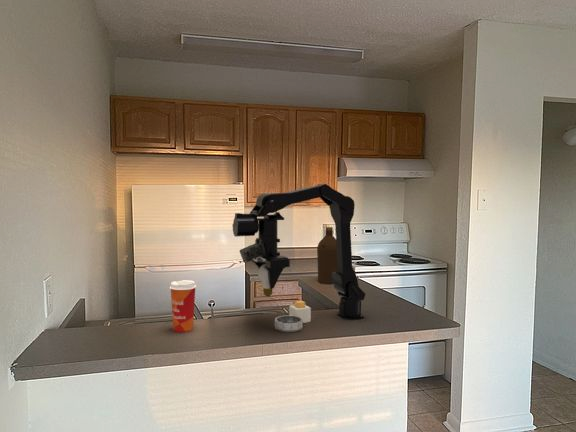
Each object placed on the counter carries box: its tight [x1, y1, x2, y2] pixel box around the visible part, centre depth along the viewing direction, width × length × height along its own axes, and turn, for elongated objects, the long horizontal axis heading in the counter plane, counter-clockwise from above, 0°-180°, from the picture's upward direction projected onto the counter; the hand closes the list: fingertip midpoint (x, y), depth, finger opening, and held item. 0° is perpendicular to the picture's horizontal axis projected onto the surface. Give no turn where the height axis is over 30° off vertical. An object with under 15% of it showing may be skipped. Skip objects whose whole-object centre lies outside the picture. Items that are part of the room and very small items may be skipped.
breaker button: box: [294, 300, 306, 308], centre depth 135 cm, size 2×2×3 cm
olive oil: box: [316, 226, 338, 285], centre depth 192 cm, size 11×11×25 cm
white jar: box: [288, 304, 312, 324], centre depth 135 cm, size 5×5×5 cm
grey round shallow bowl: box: [274, 314, 304, 334], centre depth 128 cm, size 8×8×3 cm
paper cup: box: [168, 279, 197, 333], centre depth 125 cm, size 8×8×14 cm
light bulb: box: [257, 264, 273, 297], centre depth 128 cm, size 6×6×10 cm
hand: (268, 286), depth 129 cm, fingers closed on light bulb, 5 cm apart
